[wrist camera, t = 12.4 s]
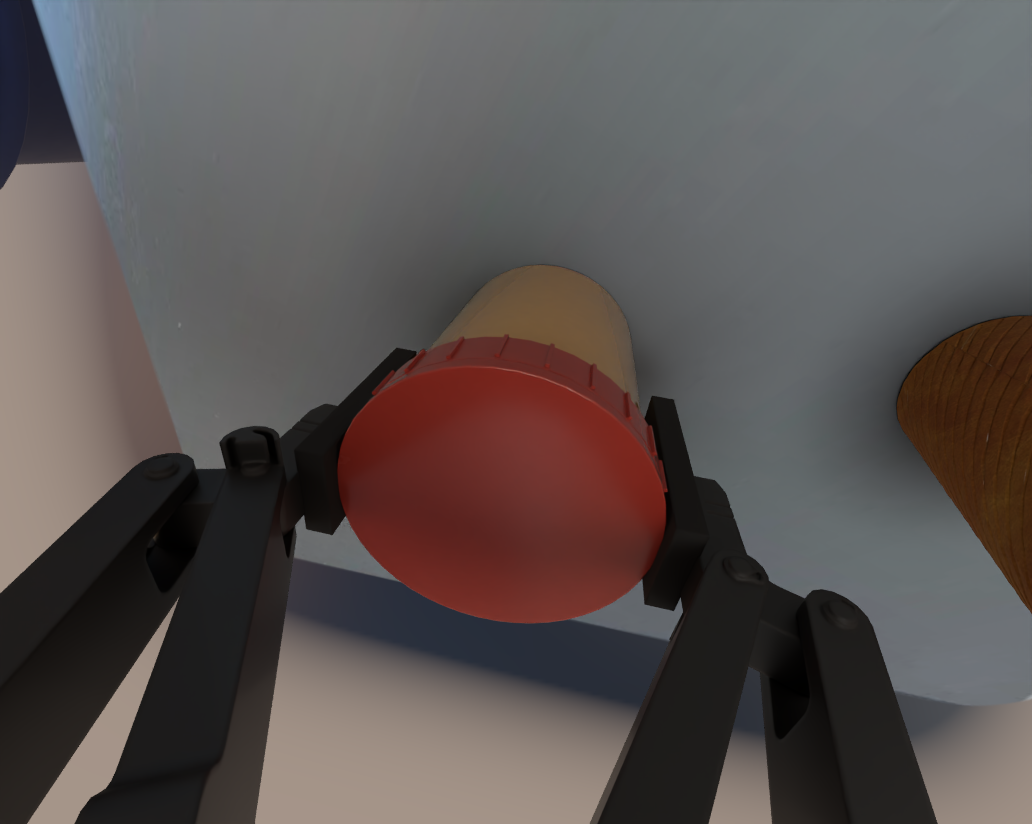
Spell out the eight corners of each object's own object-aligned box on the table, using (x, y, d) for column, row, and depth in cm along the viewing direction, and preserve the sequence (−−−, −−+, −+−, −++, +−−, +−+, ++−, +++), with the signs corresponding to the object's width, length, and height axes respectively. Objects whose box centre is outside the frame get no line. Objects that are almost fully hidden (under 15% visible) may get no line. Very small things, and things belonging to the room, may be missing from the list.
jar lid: (709, 373, 11) (726, 411, 9) (614, 602, 16) (615, 652, 14) (360, 302, 12) (322, 327, 10) (367, 543, 16) (342, 585, 15)
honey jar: (453, 411, 24) (366, 565, 15) (462, 250, 19) (350, 336, 11) (609, 441, 23) (611, 619, 14) (653, 281, 19) (693, 399, 10)
